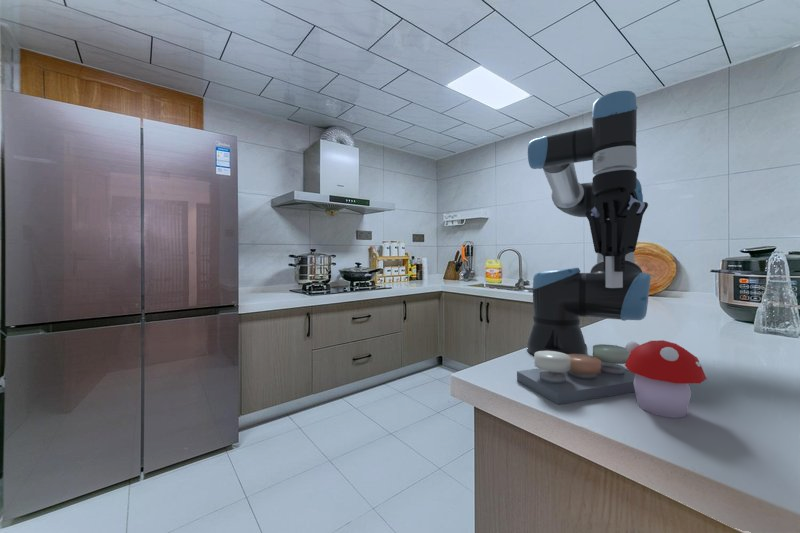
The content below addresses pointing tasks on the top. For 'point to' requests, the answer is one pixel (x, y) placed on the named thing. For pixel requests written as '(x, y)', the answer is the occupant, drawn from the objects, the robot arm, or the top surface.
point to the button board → (579, 383)
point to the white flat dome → (552, 361)
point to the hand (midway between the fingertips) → (614, 287)
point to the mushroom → (663, 376)
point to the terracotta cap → (585, 364)
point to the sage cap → (611, 353)
